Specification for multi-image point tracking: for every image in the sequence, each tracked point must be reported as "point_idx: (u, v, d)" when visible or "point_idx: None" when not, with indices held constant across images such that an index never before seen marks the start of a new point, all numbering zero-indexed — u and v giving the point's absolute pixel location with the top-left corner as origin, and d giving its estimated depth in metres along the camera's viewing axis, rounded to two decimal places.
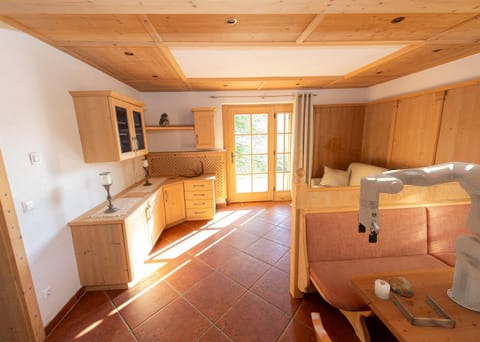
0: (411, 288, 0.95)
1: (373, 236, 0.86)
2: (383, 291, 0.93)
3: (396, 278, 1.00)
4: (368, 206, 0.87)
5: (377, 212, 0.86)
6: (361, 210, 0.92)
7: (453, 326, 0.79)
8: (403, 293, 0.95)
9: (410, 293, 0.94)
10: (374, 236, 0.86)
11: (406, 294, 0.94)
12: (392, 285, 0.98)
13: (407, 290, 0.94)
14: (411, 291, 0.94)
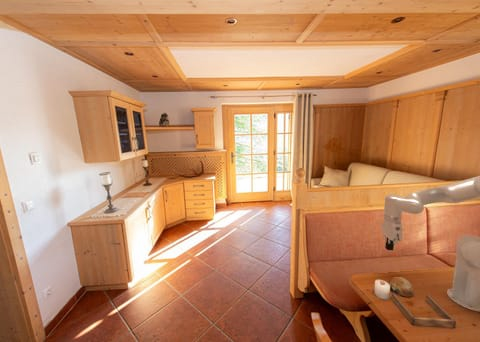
0: (411, 288, 0.95)
1: (390, 245, 1.05)
2: (383, 291, 0.93)
3: (396, 278, 1.00)
4: (392, 221, 1.01)
5: (400, 226, 1.00)
6: (385, 224, 1.06)
7: (453, 326, 0.79)
8: (403, 293, 0.95)
9: (409, 293, 0.94)
10: (391, 245, 1.05)
11: (406, 294, 0.94)
12: (392, 285, 0.98)
13: (406, 290, 0.94)
14: (411, 291, 0.94)
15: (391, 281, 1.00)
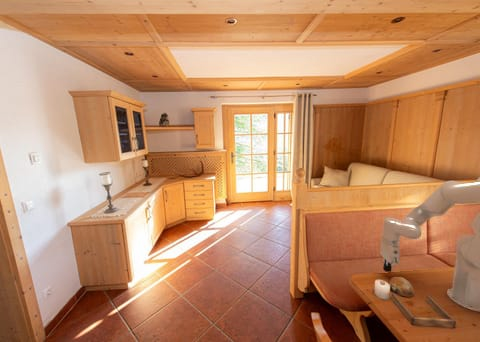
0: (411, 288, 0.95)
1: (388, 266, 1.07)
2: (383, 291, 0.93)
3: (396, 278, 1.00)
4: (390, 244, 1.03)
5: (398, 250, 1.02)
6: (383, 246, 1.08)
7: (453, 326, 0.79)
8: (403, 293, 0.95)
9: (409, 293, 0.94)
10: (389, 266, 1.07)
11: (406, 294, 0.94)
12: (392, 285, 0.98)
13: (406, 290, 0.94)
14: (411, 291, 0.94)
15: (391, 281, 1.00)
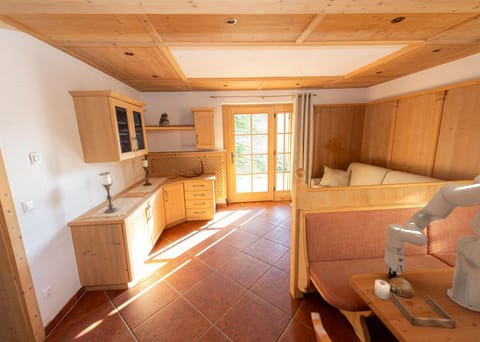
0: (411, 289, 0.94)
1: (393, 275, 1.03)
2: (383, 291, 0.93)
3: (396, 279, 0.99)
4: (395, 252, 0.99)
5: (403, 258, 0.98)
6: (387, 253, 1.05)
7: (453, 326, 0.79)
8: (402, 294, 0.94)
9: (409, 294, 0.94)
10: (394, 275, 1.03)
11: (405, 295, 0.94)
12: (391, 285, 0.98)
13: (406, 290, 0.94)
14: (411, 292, 0.94)
15: (391, 281, 1.00)
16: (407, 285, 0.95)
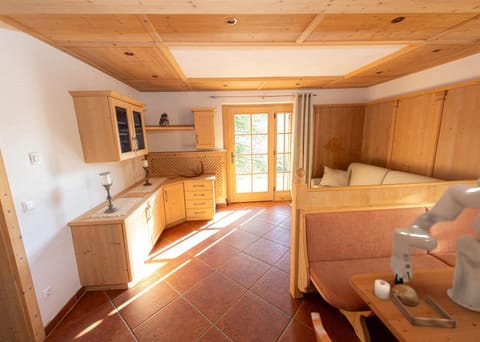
0: (414, 297, 0.89)
1: (400, 282, 0.98)
2: (383, 291, 0.93)
3: (400, 285, 0.95)
4: (402, 258, 0.95)
5: (410, 264, 0.93)
6: (393, 259, 1.00)
7: (453, 326, 0.79)
8: (404, 301, 0.90)
9: (412, 302, 0.89)
10: (401, 282, 0.98)
11: (408, 302, 0.89)
12: (394, 292, 0.94)
13: (409, 298, 0.89)
14: (414, 300, 0.89)
15: (394, 287, 0.96)
16: (411, 293, 0.90)
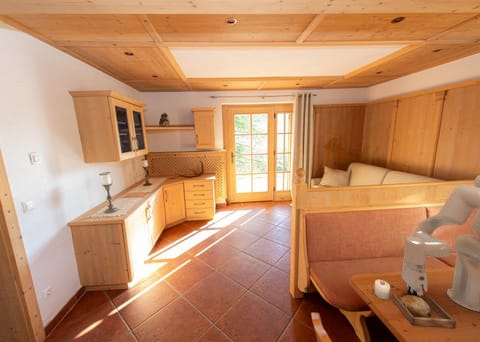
0: (421, 310, 0.83)
1: (414, 294, 0.91)
2: (383, 291, 0.93)
3: (411, 295, 0.88)
4: (415, 269, 0.87)
5: (425, 276, 0.86)
6: (405, 270, 0.92)
7: (453, 326, 0.79)
8: (408, 310, 0.85)
9: (416, 314, 0.83)
10: (415, 294, 0.91)
11: (411, 313, 0.84)
12: (401, 299, 0.90)
13: (413, 309, 0.84)
14: (419, 313, 0.82)
15: (404, 296, 0.90)
16: (418, 305, 0.84)
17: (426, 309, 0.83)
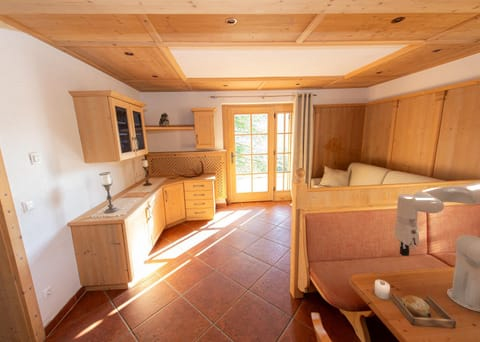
0: (421, 310, 0.83)
1: (406, 250, 0.95)
2: (383, 291, 0.93)
3: (411, 296, 0.88)
4: (407, 223, 0.91)
5: (416, 229, 0.90)
6: (398, 227, 0.96)
7: (453, 326, 0.79)
8: (408, 310, 0.85)
9: (416, 314, 0.83)
10: (407, 250, 0.94)
11: (411, 313, 0.84)
12: (401, 299, 0.90)
13: (413, 309, 0.84)
14: (419, 313, 0.82)
15: None
16: (418, 305, 0.84)
17: (426, 309, 0.83)
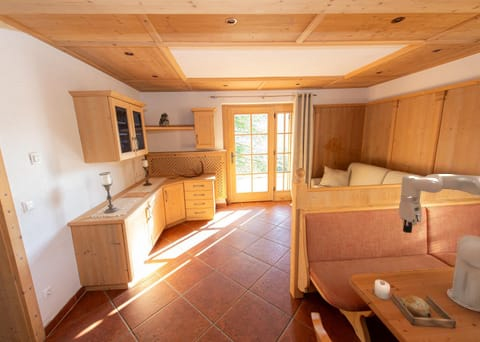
0: (421, 310, 0.83)
1: (409, 227, 1.01)
2: (383, 291, 0.93)
3: (411, 296, 0.88)
4: (410, 201, 0.97)
5: (419, 207, 0.96)
6: (402, 205, 1.02)
7: (453, 326, 0.79)
8: (408, 310, 0.85)
9: (416, 314, 0.83)
10: (410, 227, 1.01)
11: (411, 313, 0.84)
12: (401, 299, 0.90)
13: (413, 309, 0.84)
14: (419, 313, 0.83)
15: None
16: (418, 305, 0.84)
17: (426, 309, 0.83)
